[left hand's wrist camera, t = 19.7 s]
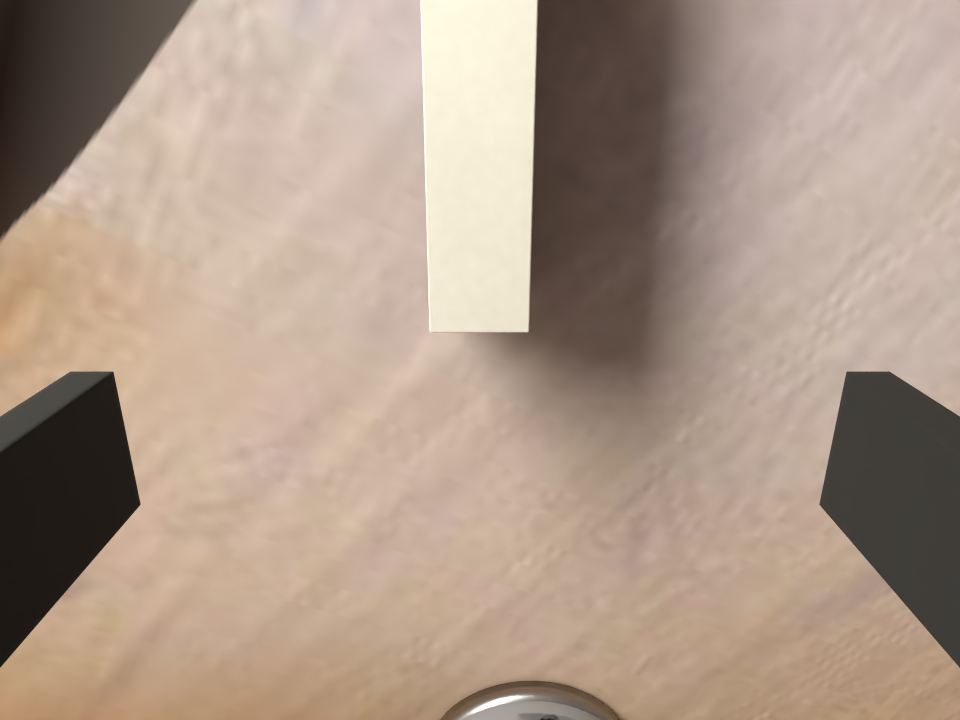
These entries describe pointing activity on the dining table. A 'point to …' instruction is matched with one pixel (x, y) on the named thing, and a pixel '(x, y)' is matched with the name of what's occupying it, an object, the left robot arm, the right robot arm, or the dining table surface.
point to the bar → (479, 161)
